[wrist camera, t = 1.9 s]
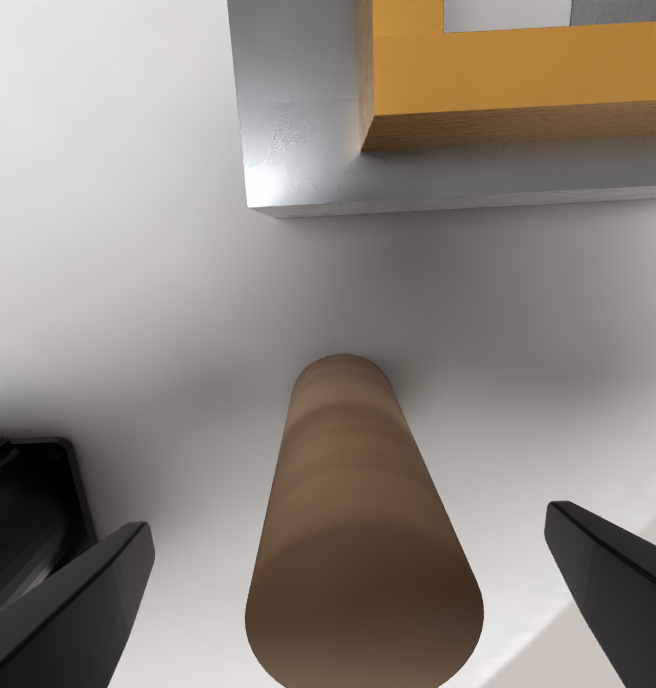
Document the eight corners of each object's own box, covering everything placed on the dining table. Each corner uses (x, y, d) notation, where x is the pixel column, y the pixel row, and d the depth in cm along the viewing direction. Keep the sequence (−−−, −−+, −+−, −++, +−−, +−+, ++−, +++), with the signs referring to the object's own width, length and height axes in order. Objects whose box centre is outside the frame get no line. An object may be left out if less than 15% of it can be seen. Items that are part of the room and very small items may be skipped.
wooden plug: (393, 446, 16) (477, 704, 7) (294, 450, 16) (257, 713, 7) (393, 351, 15) (491, 516, 6) (287, 357, 15) (231, 529, 6)
